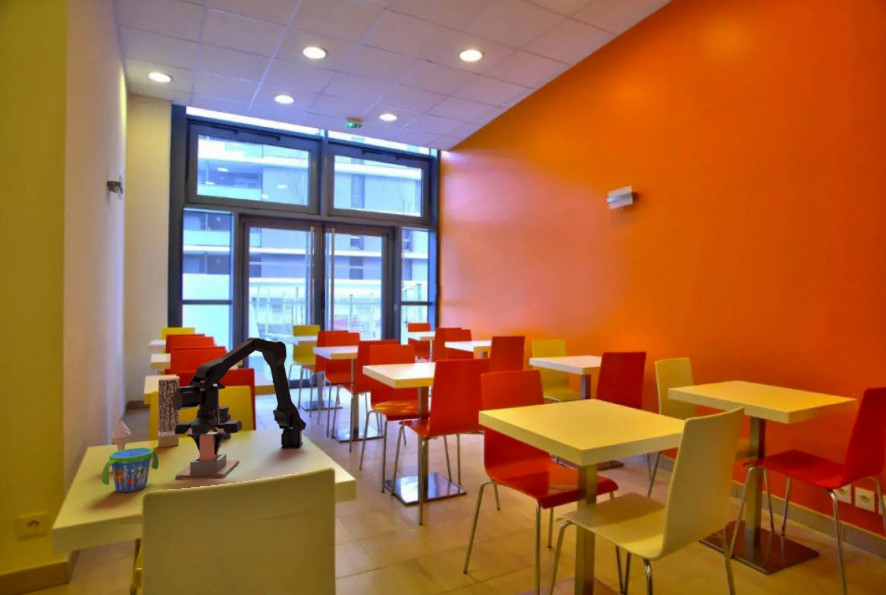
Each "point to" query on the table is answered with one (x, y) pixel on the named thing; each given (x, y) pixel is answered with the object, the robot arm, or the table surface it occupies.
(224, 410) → the supplement bottle
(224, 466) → the square socket base
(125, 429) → the ice cream cone
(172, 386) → the paper tube
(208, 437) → the red post
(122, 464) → the snack cup
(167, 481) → the table surface
